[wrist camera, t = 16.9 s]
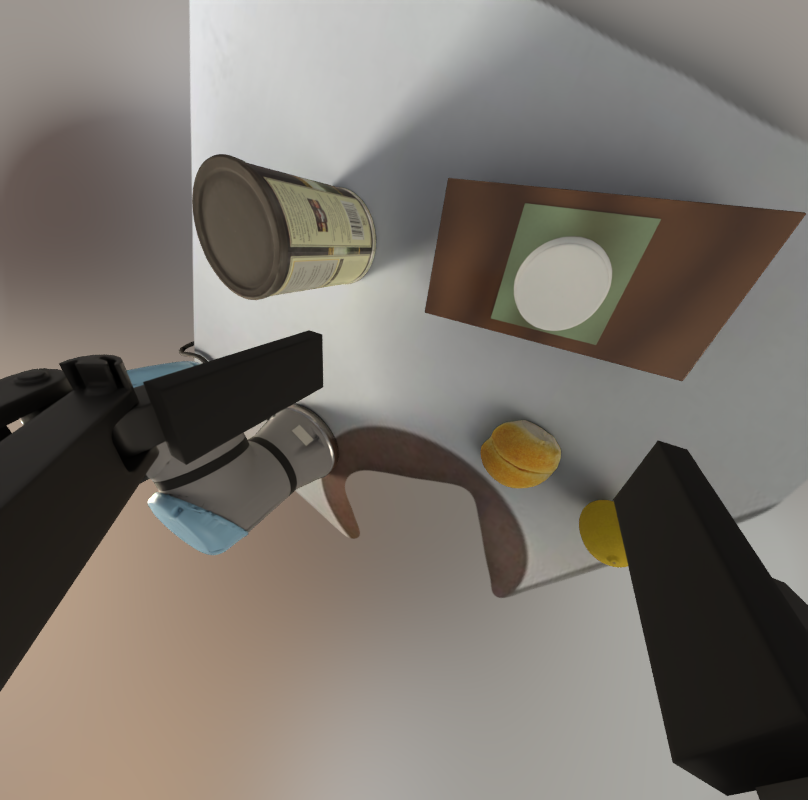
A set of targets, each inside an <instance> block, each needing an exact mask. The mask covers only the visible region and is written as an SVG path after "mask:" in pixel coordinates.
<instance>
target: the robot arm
mask: <svg viewBox="0 0 808 800" xmlns="http://www.w3.org/2000/svg"><path fill="white" fill-rule="evenodd" d="M192 346H194V341H193V342H190V343H188V344H186V345H184V346H183V347H181V348H180V350H179V353H180V355H182V356H189V357H195V358H197V359H199V360H200V361H201V362H203V364H200V363H198V362H193V361H182V362H174V363H167V364H160V365H154V366H147V367H142V368H137V369H131V370H126V368H125V366H124V363H123V361H122V359H121V358H120V357H117V356H114V355H90V356H83V357H77V358H74V359H69V360H67V361H64V362H62V363H60V364H59V365H60V366H61V369H62V370H63V371H62V370H58V369H45V368H44V369H39V370H38V369H32V370H29V371H24V372H21V373H18V374H15V375H11V376H8V377H6V378H3V379H0V691H1V690H2V688H3V687H4V685H5V684H6V682H7V681H8V679H9V678H10V676H11V675H12V673H13V672H14V670H15V669H16V667H17V666H18V665H19V663H20V662H21V660H22V659H23V657H24V656H25V654H26V653H27V651H28V650H29V648H30V647H31V645H32V644H33V642H34V641H35V639H36V638H37V636H38V635H39V633H40V631H41V630H42V629H43V627H44V626H45V624H46V623H47V621H48V620H49V618H50V617H51V615H52V614H53V612H54V611H55V609H56V608H57V606H58V605H59V603H60V602H61V600H62V599H63V597H64V596H65V594H66V593H67V591H68V589H69V588H70V587H71V585H72V584H73V582H74V581H75V579H76V578H77V576H78V575H79V573H80V572H81V570H82V569H83V567H84V566H85V565H86V563H87V561H88V560H89V559H90V557H91V556H92V554H93V553H94V551H95V550H96V548H97V547H98V545H99V544H100V542H101V541H102V539H103V537H104V536H105V535H106V533H107V532H108V530H109V529H110V527H111V526H112V524H113V523H114V521H115V520H116V518H117V517H118V515H119V514H120V512H121V510H122V509H123V508H124V506H125V505H126V503H127V502H128V500H129V499H130V497H131V496H132V494H133V493H134V491H135V490H136V488H137V487H138V485H139V484H140V483H142V482H144V481H146V480H148V479H151V480H152V481H153V482H154V484H155V485H156V486H157V488H158V489H159V492H156V493H155V494H153V496H152V497H151V498H150V499H149V500H148V505H149V507H150V508H151V510H152V512H153V513H154V515H155V516H156V517H157V518H158V519H159V520H160V521H161V522H162V523H163V524H164V525H165V526H166V527H167V528H168V529H169V530H171V531H172V532H173V533H174V534H175V535H177V536H178V537H179V538H181V539H182V540H183V541H184V542H186V543H187V544H189V545H190V546H192V547H193V548H195V549H197V550H198V551H200V552H202V553H205V554H208V555H217V554H221V553H223V552H225V551H226V550H228V549H229V548H230V547H231V546H233V545H234V544H235V543H236V542H238V541H239V540H240V539H242V538H243V537H245V536H247V535H248V532H250V531H251V530H252V529H253V528H254V527H255V526H256V525H257V524H258V523H260V522H261V521H262V520H263V519H264V518H265V517H266V516H267V515H268V514H270V513H271V512H272V511H273V510H274V509H275V508H276V507H277V506H278V505H279V504H281V503H282V502H283V501H284V500H285V499H286V498H287V497H288V496H290V495H291V494H292V493H293V492H294V491H295V490H296V489H298V488H300V487H302V486H304V485H306V484H309V483H311V482H313V481H315V480H317V479H320V478H323V477H325V476H326V475H328V474H329V473H330V472H331V471H332V470H333V469H334V468H335V467H336V465H337V463H338V458H339V453H338V447H337V443H336V441H335V438H334V436H333V434H332V432H331V431H330V429H329V428H328V426H327V425H326V424H325V423H324V421H323V420H322V419H321V418H320V417H319V416H317V415H316V414H315V413H314V412H312V411H311V410H309V409H307V408H305V407H303V406H300V405H295V404H294V403H296V402H298V401H300V400H301V399H303V398H305V397H307V396H308V395H310V394H312V393H314V392H315V391H317V390H319V389H321V388H322V387H323V351H322V334H319V333H316V332H312V331H306V332H302V333H299V334H296V335H293V336H290V337H286V338H283V339H280V340H277V341H273V342H270V343H267V344H264V345H261V346H257V347H254V348H251V349H248V350H244V351H241V352H238V353H235V354H232V355H228V356H225V357H222V358H219V359H215V360H212V361H209V362H208V361H207V360H206V359H205V358H204V357H202V356H201V355H198V354H195V353H190V352H184V351H185V350H186V349H187V348H189V347H192ZM18 419H20V420H21V422H22V423H23V426H22V427H21V428H19V429H18V430H16V431H15V432H13V433H11V431H10V430H9V429H8V427H7V426H6V425H8V424H10V423H12V422H14V421H16V420H18ZM265 420H267V422H266V423H265V424H264V425H263V427H262V428H261V429H260V430H259V431H258V432H257V433H256V435H255V436H253V437H252V438H250V439H248V440H247V438H246V437H245V435H244V433H243V432H245V431H247V430H249V429H251V428H252V427H254V426H256V425H258V424H259V423H261V422H263V421H265ZM613 500H614V505H615V509H616V513H617V518H618V522H619V527H620V531H621V536H622V540H623V544H624V549H625V553H626V558H627V562H628V566H629V571H630V575H631V580H632V584H633V589H634V593H635V598H636V602H637V606H638V610H639V615H640V620H641V624H642V628H643V633H644V637H645V642H646V646H647V651H648V655H649V659H650V664H651V668H652V673H653V677H654V682H655V686H656V690H657V694H658V699H659V703H660V708H661V713H662V716H663V721H664V726H665V730H666V734H667V739H668V744H669V748H670V752H671V757H672V761H673V763H675V764H676V765H678V766H680V767H681V768H683V769H684V770H686V771H688V772H689V773H691V774H692V775H694V776H696V777H697V778H699V779H701V780H702V781H704V782H706V783H707V784H709V785H710V786H712V787H714V788H715V789H717V790H719V791H720V792H722V793H724V794H725V795H727V796H729V795H734V794H740V793H745V792H749V791H755V790H756V791H757V794H758V796H759V799H760V800H808V605H807V604H806V603H805V602H804V601H803V600H802V599H801V598H800V597H799V596H798V595H797V594H796V593H795V592H794V591H793V590H792V589H791V588H790V587H789V586H788V585H787V584H786V583H784V582H781V581H779V580H776V579H774V578H772V577H771V576H770V574H769V572H768V571H767V570H766V568H765V566H764V565H763V563H762V562H761V560H760V559H759V557H758V556H757V554H756V553H755V551H754V550H753V548H752V547H751V545H750V544H749V542H748V541H747V539H746V538H745V536H744V535H743V533H742V532H741V530H740V529H739V527H738V526H737V524H736V523H735V521H734V519H733V518H732V516H731V515H730V513H729V512H728V510H727V509H726V507H725V506H724V504H723V503H722V501H721V500H720V498H719V497H718V495H717V494H716V492H715V491H714V489H713V488H712V486H711V485H710V483H709V482H708V480H707V479H706V477H705V476H704V474H703V473H702V471H701V470H700V468H699V467H698V465H697V463H696V462H695V460H694V459H693V457H692V456H691V454H690V453H689V451H688V450H687V449H683V448H680V447H677V446H674V445H671V444H668V443H664V442H661V441H657V442H656V444H655V445H654V446H653V448H652V449H651V450H650V452H649V453H648V454H647V456H646V457H645V458H644V460H643V461H642V462H641V464H640V465H639V466H638V468H637V469H636V470H635V472H634V473H633V474H632V476H631V477H630V478H629V480H628V481H627V482H626V483H625V485H624V486H623V487H622V489H621V490H620V491H619V493H618V494H617V495H616V497H615V498H614V499H613Z"/></svg>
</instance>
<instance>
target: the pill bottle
mask: <svg viewBox="0 0 808 800" xmlns="http://www.w3.org/2000/svg"><path fill="white" fill-rule="evenodd" d="M611 280H612V266H611V262H610V260H609V257H608V255H607V254H606V252H605V251H604V249H603V248H602V247H600V246H599V245H598V244H597V243H595V242H594V241H592V240H590V239H587V238H583V237H561V238H556V239H553V240H551V241H548V242H546V243H544V244H543V245H541V246H540V247H538V248H537V249H535V250H534V251H533V252H532V253H531V254H530V255H529V256H528V257H527V258H526V259H525V260H524V262H523V263H522V265H521V266H520V268H519V270H518V272H517V274H516V278H515V282H514V298H515V302H516V305H517V307H518V310H519V312H520V313H521V315H522V316H523V318H524V319H525V320H526V321H527V322H528V323H530V324H531V325H533V326H534V327H537V328H540V329H543V330H549V331H559V330H565V329H569V328H572V327H574V326H577V325H579V324H581V323H582V322H584V321H585V320H587V319H588V318H589V317H590V316H592V315H593V314H594V313H595V312H596V310H597V309H598V308H599V307H600V305H601V304H602V302H603V301H604V299H605V298H606V296H607V294H608V291H609V289H610V286H611Z"/></svg>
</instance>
